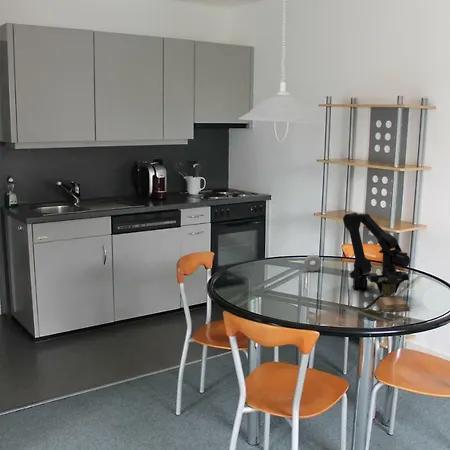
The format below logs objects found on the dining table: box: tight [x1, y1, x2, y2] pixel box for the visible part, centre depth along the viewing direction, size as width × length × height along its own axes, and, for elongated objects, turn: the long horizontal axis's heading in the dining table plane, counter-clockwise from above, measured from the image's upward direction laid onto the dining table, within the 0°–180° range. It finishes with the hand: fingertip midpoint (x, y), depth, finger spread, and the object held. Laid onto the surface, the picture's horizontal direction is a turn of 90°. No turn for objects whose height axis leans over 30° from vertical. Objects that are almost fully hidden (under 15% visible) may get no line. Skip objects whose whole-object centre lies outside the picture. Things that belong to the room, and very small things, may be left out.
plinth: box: [375, 296, 411, 313], centre depth 271 cm, size 12×12×3 cm
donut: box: [303, 254, 322, 273], centre depth 329 cm, size 10×4×10 cm, turn 97°
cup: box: [380, 279, 396, 297], centre depth 283 cm, size 8×7×8 cm
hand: (387, 293), depth 284 cm, fingers open, 7 cm apart
